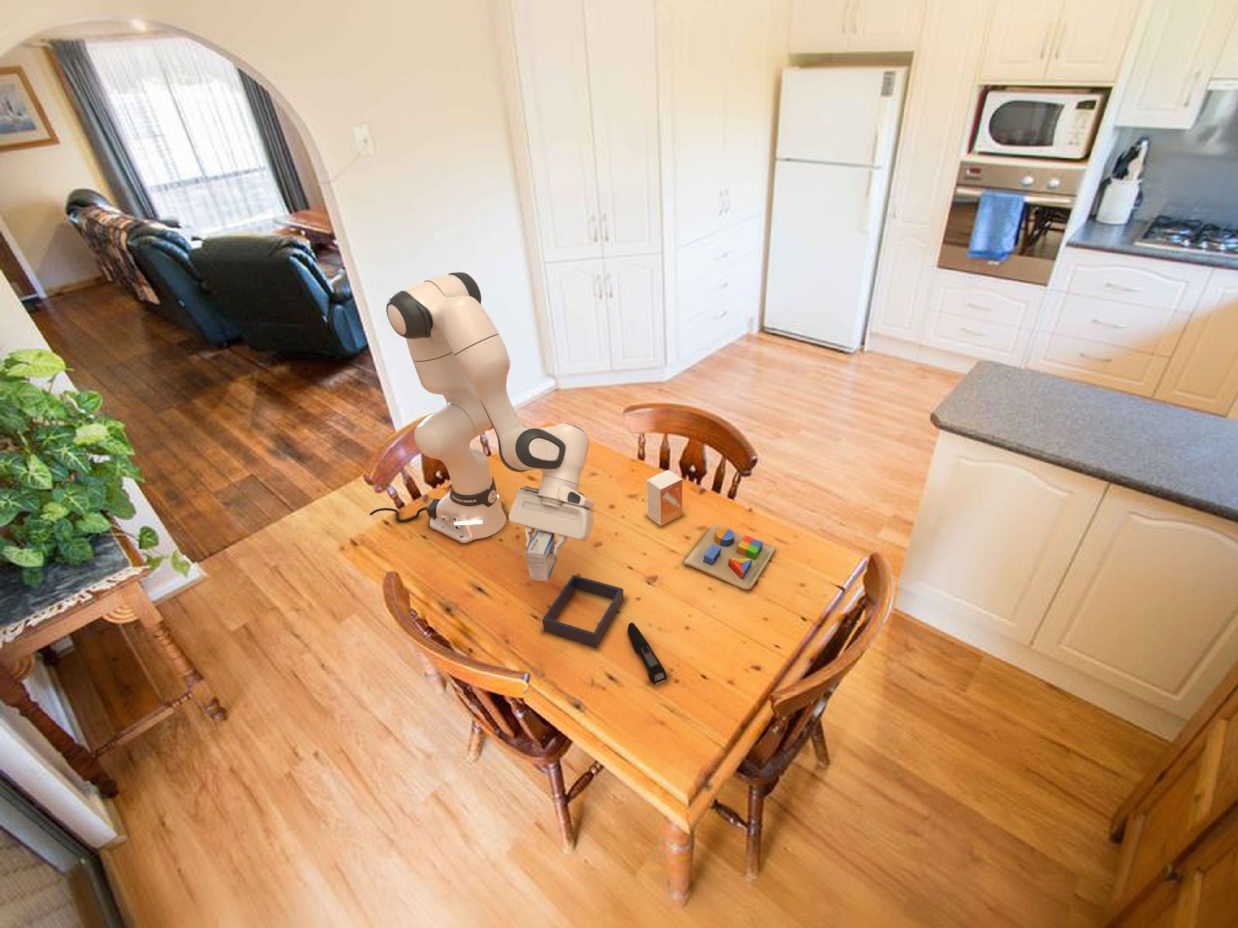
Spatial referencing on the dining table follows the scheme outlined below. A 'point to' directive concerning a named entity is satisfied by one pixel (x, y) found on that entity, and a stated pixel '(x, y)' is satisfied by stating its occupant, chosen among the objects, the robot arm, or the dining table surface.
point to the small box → (664, 497)
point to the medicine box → (541, 556)
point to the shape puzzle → (730, 556)
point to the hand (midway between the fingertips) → (541, 551)
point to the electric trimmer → (646, 655)
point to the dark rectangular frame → (575, 632)
